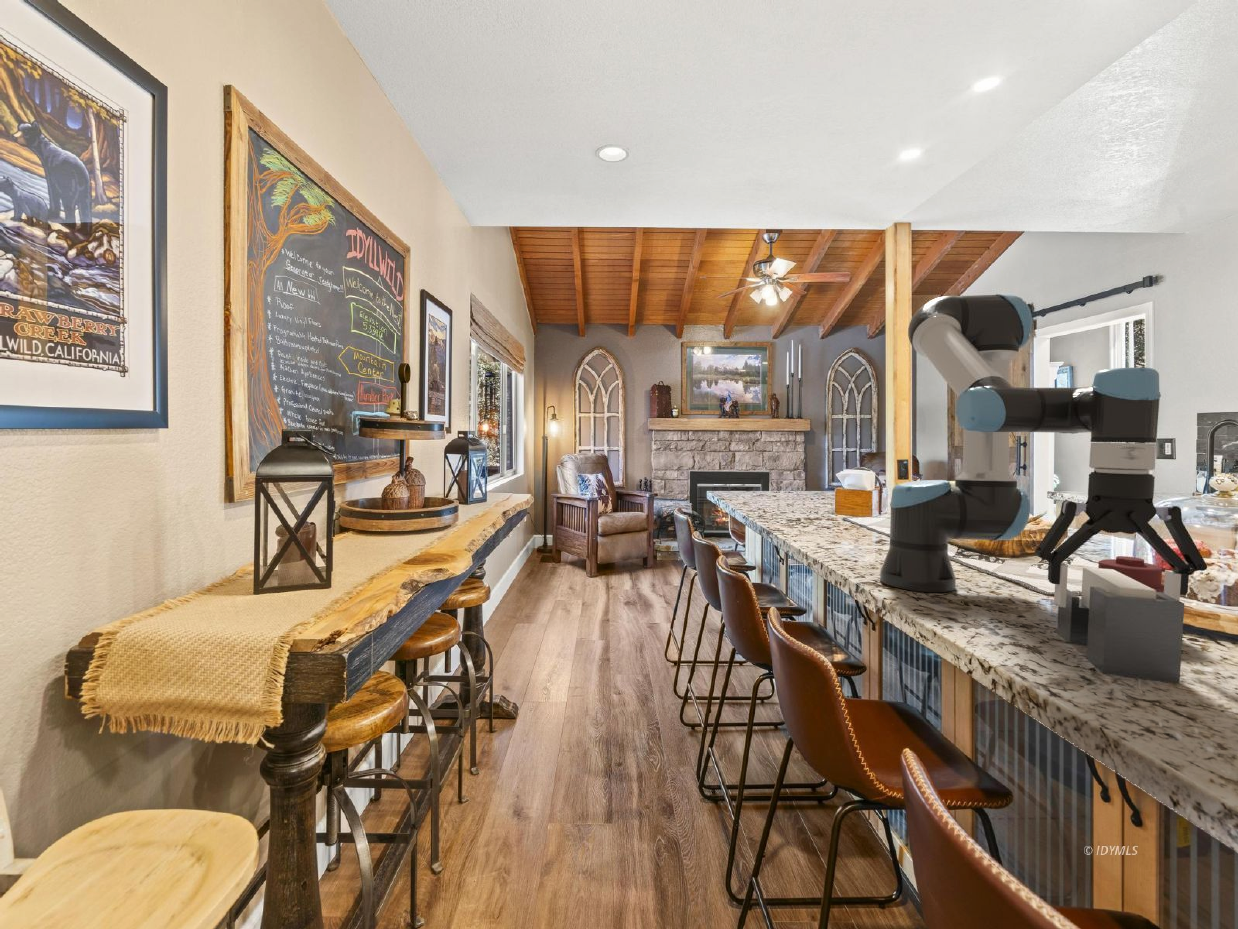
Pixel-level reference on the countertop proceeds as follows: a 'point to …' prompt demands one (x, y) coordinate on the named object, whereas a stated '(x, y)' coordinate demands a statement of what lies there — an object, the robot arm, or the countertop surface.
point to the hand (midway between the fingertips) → (1113, 610)
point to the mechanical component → (1136, 570)
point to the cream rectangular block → (1113, 584)
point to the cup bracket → (1135, 635)
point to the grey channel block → (1073, 620)
